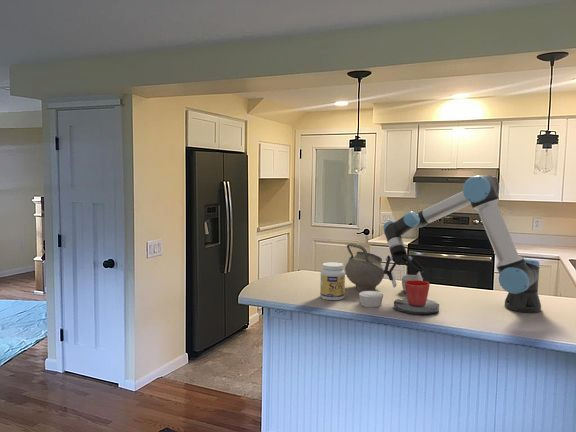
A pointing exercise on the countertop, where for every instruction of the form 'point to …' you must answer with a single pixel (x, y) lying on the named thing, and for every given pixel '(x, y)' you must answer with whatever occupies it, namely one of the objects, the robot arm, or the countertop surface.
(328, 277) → the supplement tub
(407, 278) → the teacup
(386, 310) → the countertop surface
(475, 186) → the robot arm
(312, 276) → the countertop surface
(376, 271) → the pot
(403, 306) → the disc
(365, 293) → the ramekin
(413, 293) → the flower pot
